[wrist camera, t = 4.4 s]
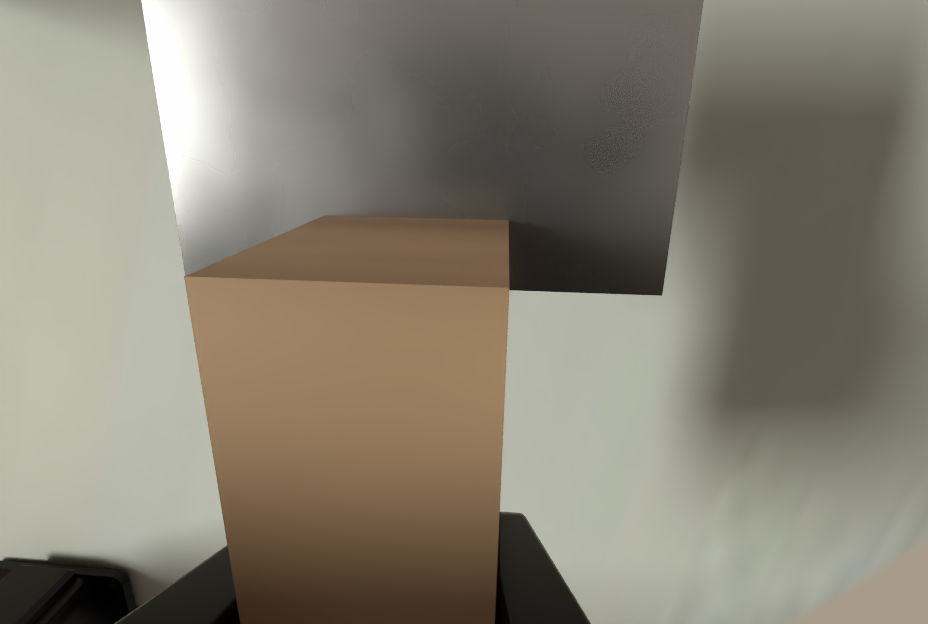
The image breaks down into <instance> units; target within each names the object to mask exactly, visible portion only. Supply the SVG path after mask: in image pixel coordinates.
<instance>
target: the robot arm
mask: <svg viewBox="0 0 928 624" xmlns="http://www.w3.org/2000/svg"><path fill="white" fill-rule="evenodd" d="M0 624H240V619H239V613H238V607H237V600H236V594H235V588H234V582H233V576H232V569H231V563H230V557H229V551H228V545H227V546H226V547H224V548H223V549H221V550H220V551H218V552H217V553H215V554H214V555H213V556H211V557H210V558H208V559H207V560H205V561H204V562H203V563H201V564H200V565H198V566H197V567H195V568H194V569H193V570H191V571H190V572H188V573H187V574H185V575H184V576H182V577H181V578H180V579H178V580H177V581H175V582H174V583H172V584H171V585H170V586H168V587H167V588H165V589H164V590H162V591H161V592H160V593H158V594H157V595H155V596H154V597H152V598H151V599H149V600H148V601H147V602H145V603H144V604H142V605H141V606H139V607H138V608H137V609H136V607H135V603H134V598H133V594H132V590H131V586H130V582H129V578H128V576H127V575H126V574H125V573H124V572H122V571H121V570H117V569H105V568H91V567H78V566H65V565H51V564H38V563H25V562H11V561H0ZM495 624H591V623H590V622H589V620H588V618H587V617H586V615H585V613H584V612H583V610H582V608H581V607H580V605H579V604H578V602H577V600H576V599H575V597H574V595H573V594H572V592H571V591H570V589H569V587H568V586H567V584H566V582H565V581H564V579H563V577H562V576H561V574H560V573H559V571H558V569H557V568H556V566H555V564H554V563H553V561H552V560H551V558H550V556H549V555H548V553H547V551H546V550H545V548H544V546H543V545H542V543H541V542H540V540H539V538H538V537H537V535H536V533H535V532H534V530H533V529H532V527H531V525H530V524H529V522H528V520H527V519H526V517H525V516H524V515H523V514H521V513H512V512H500V514H499V537H498V560H497V583H496V606H495Z"/></svg>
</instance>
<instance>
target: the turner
mask: <svg viewBox="0 0 928 624" xmlns="http://www.w3.org/2000/svg"><path fill="white" fill-rule="evenodd" d="M141 2H142V8H143V15H144V21H145V27H146V33H147V39H148V46H149V52H150V58H151V64H152V71H153V77H154V83H155V89H156V95H157V102H158V108H159V114H160V120H161V127H162V133H163V139H164V145H165V152H166V158H167V164H168V170H169V176H170V183H171V189H172V195H173V201H174V208H175V214H176V220H177V226H178V232H179V239H180V245H181V251H182V257H183V264H184V270H185V276H184V278H185V284H186V291H187V297H188V303H189V309H190V315H191V322H192V328H193V334H194V340H195V346H196V353H197V359H198V365H199V371H200V377H201V384H202V390H203V396H204V402H205V408H206V415H207V421H208V427H209V433H210V439H211V446H212V452H213V458H214V464H215V470H216V477H217V483H218V489H219V495H220V501H221V508H222V514H223V520H224V526H225V532H226V538H227V545H228V551H229V557H230V563H231V569H232V576H233V582H234V588H235V594H236V600H237V607H238V613H239V619H240V624H495V606H496V583H497V560H498V537H499V514H500V491H501V468H502V445H503V422H504V399H505V376H506V352H507V329H508V306H509V290H522V291H551V292H579V293H607V294H635V295H662V292H663V285H664V278H665V270H666V263H667V256H668V249H669V242H670V235H671V228H672V221H673V214H674V206H675V199H676V192H677V185H678V178H679V171H680V164H681V157H682V150H683V143H684V135H685V128H686V121H687V114H688V107H689V100H690V93H691V86H692V79H693V71H694V64H695V57H696V50H697V43H698V36H699V29H700V22H701V15H702V7H703V0H141Z"/></svg>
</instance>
